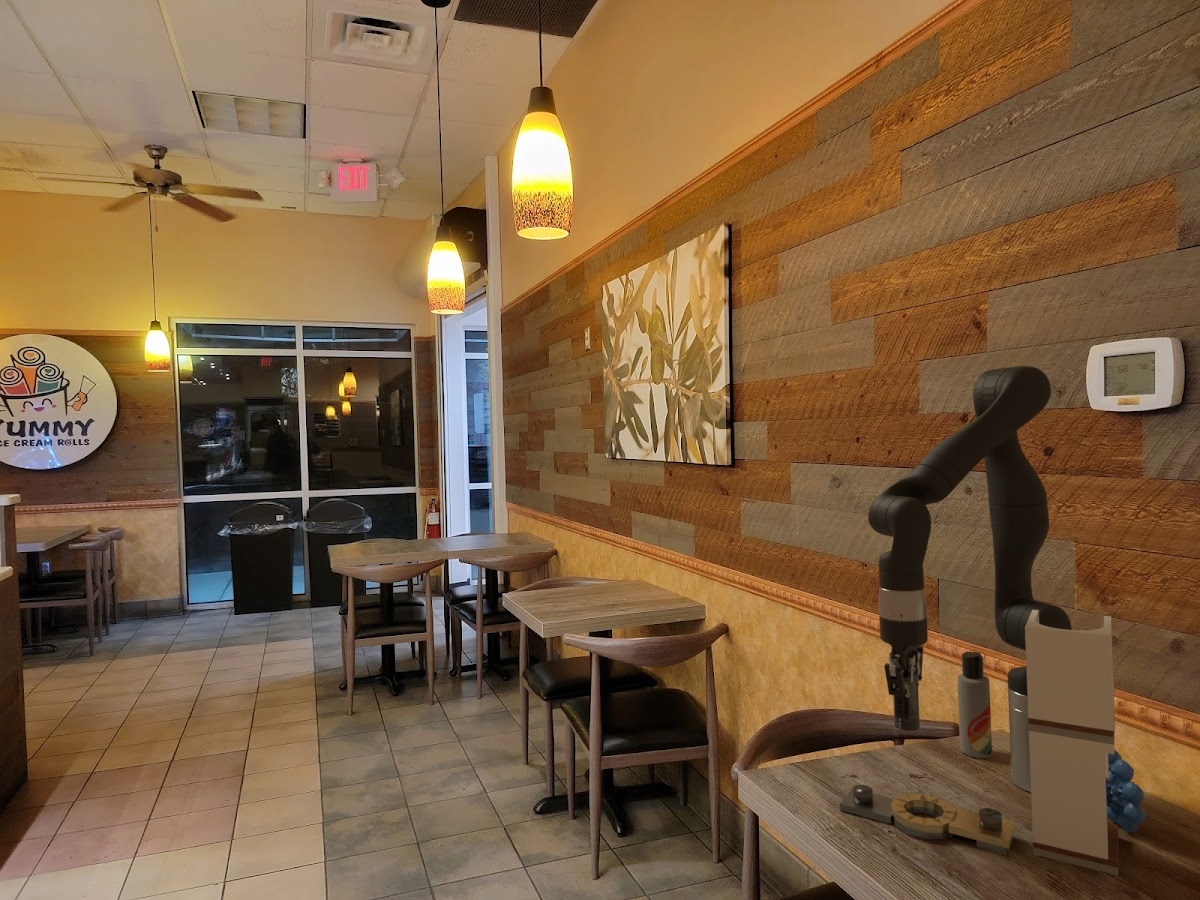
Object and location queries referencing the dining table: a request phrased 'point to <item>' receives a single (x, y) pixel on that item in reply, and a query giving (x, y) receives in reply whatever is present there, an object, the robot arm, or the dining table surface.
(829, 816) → the dining table surface
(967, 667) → the lotion bottle
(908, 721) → the pin
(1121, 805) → the grapes
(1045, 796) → the beige rectangular tower
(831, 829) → the dining table surface
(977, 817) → the tan piece
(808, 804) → the dining table surface
